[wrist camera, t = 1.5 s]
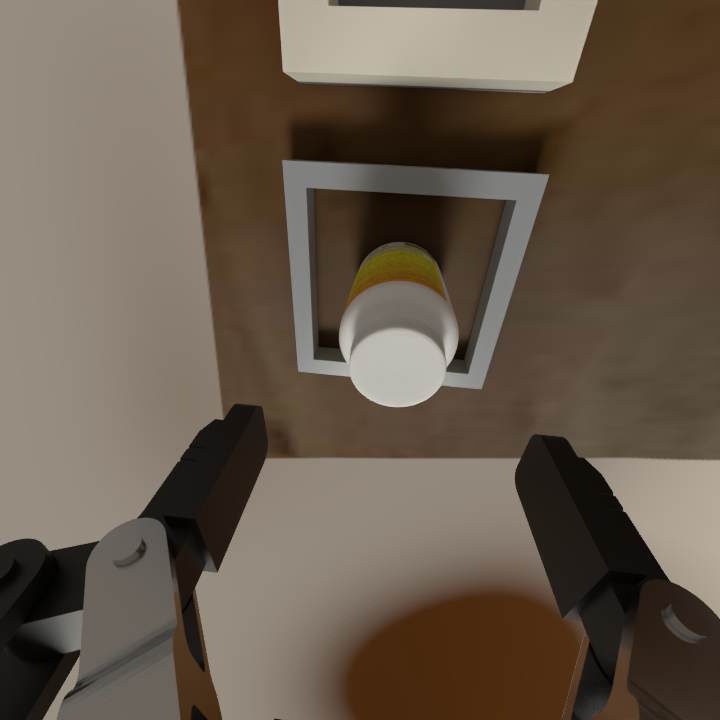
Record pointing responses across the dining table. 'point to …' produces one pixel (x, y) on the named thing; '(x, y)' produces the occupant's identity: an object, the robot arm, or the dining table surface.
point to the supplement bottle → (398, 326)
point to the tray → (474, 183)
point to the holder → (435, 43)
